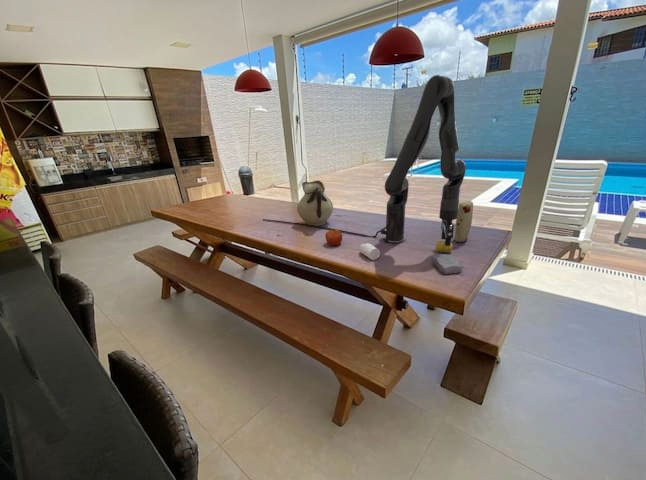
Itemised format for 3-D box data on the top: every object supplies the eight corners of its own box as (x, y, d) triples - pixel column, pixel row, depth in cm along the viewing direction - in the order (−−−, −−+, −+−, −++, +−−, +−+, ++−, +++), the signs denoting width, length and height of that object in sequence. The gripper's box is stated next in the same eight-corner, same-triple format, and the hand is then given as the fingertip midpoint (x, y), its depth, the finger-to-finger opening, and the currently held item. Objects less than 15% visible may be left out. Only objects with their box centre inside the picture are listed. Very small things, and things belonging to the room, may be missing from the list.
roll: (367, 249, 151) (367, 239, 149) (380, 258, 141) (380, 247, 138) (356, 252, 149) (356, 241, 147) (368, 261, 139) (368, 249, 137)
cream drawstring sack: (313, 216, 208) (310, 178, 197) (342, 221, 196) (340, 181, 185) (291, 225, 192) (286, 185, 181) (321, 231, 179) (318, 188, 169)
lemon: (436, 253, 142) (437, 243, 140) (434, 249, 147) (435, 239, 144) (453, 254, 141) (454, 243, 139) (450, 249, 145) (452, 239, 143)
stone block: (451, 264, 135) (430, 262, 134) (455, 254, 133) (433, 252, 132) (464, 277, 125) (441, 275, 123) (468, 267, 123) (445, 264, 121)
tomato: (331, 248, 155) (331, 233, 151) (322, 243, 162) (321, 229, 158) (346, 244, 159) (346, 229, 155) (337, 239, 166) (336, 225, 163)
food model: (463, 244, 150) (469, 204, 141) (450, 241, 154) (455, 202, 146) (471, 239, 156) (477, 200, 147) (458, 236, 160) (463, 198, 152)
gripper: (437, 204, 142) (434, 237, 149) (443, 212, 129) (439, 248, 136) (454, 203, 140) (450, 236, 147) (462, 211, 128) (457, 248, 135)
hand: (445, 242), depth 142 cm, fingers open, 8 cm apart
